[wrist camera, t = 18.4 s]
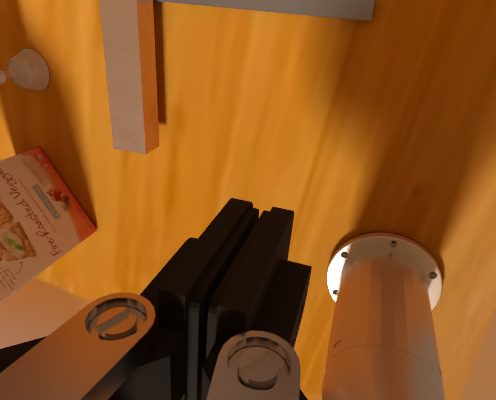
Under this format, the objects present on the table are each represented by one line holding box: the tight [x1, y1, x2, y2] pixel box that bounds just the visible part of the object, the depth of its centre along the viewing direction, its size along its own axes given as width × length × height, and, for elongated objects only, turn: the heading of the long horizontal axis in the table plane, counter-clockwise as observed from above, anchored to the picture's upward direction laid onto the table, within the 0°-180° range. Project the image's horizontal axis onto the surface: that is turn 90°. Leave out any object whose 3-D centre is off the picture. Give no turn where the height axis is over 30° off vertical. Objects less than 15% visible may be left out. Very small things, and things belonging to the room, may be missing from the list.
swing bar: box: [99, 0, 159, 154], centre depth 40 cm, size 4×24×4 cm, turn 177°
